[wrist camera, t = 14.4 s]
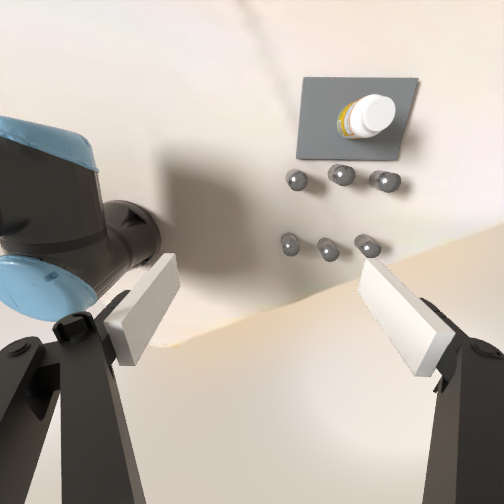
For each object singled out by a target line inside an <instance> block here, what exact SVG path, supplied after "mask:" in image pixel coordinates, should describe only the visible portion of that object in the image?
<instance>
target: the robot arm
mask: <svg viewBox="0 0 504 504" xmlns="http://www.w3.org/2000/svg"><path fill="white" fill-rule="evenodd" d="M98 173H99V170H98V169H97V168H96V164H95V160H94V155H93V151H92V147H91V145H90V143H89V142H88V140H87V139H86V138H84V137H83V136H81V135H80V134H78V133H75V132H71V131H68V130H64V129H59V128H55V127H51V126H46V125H42V124H38V123H33V122H29V121H24V120H19V119H15V118H10V117H5V116H0V244H1V247H2V249H3V252H4V255H3V256H0V301H2V302H3V303H4V304H5V305H7V306H8V307H10V308H12V309H13V310H15V311H18V312H19V313H21V314H23V315H26V316H28V317H31V318H34V319H38V320H43V321H51V322H56V323H55V325H54V326H53V329H52V330H53V332H54V334H55V336H56V338H57V340H58V341H56V342H51V343H46V344H42V342H41V341H40V339H39V338H38V337H33V336H32V337H25V338H22V339H19V340H17V341H14V342H12V343H11V344H9V345H7V346H6V347H4V348H3V349H2V350H1V351H0V504H24V503H25V499H26V497H27V494H28V490H29V487H30V484H31V481H32V478H33V475H34V472H35V469H36V466H37V462H38V459H39V456H40V453H41V450H42V447H43V444H44V440H45V437H46V434H47V431H48V428H49V425H50V422H51V419H52V416H53V413H54V409H55V406H56V403H57V400H58V397H59V394H61V468H62V469H61V471H62V472H61V476H62V504H146V501H145V497H144V493H143V489H142V485H141V481H140V477H139V472H138V468H137V465H136V460H135V456H134V452H133V448H132V444H131V440H130V436H129V432H128V428H127V424H126V420H125V416H124V412H123V408H122V403H121V399H120V395H119V391H118V388H117V384H116V379H115V375H114V371H113V368H112V365H111V364H112V363H113V361H114V360H115V358H116V357H117V360H118V363H119V365H120V366H136V364H137V362H138V360H139V359H140V357H141V355H142V353H143V352H144V350H145V348H146V346H147V345H148V343H149V341H150V339H151V337H152V336H153V334H154V332H155V330H156V329H157V327H158V325H159V323H160V322H161V320H162V318H163V316H164V314H165V313H166V311H167V309H168V307H169V306H170V304H171V302H172V300H173V299H174V297H175V295H176V293H177V291H178V290H179V288H180V281H179V274H178V268H177V261H176V255H175V253H164V254H163V255H162V256H161V257H160V259H159V260H158V261H157V262H156V263H155V264H154V265H153V266H152V268H151V269H150V270H149V271H148V272H147V273H146V274H145V275H144V277H143V278H142V279H141V280H140V281H139V282H138V283H137V284H136V285H135V287H134V288H133V289H132V290H125V291H123V292H122V293H120V294H118V295H117V296H116V297H115V298H114V299H113V300H112V301H111V303H109V304H108V305H107V306H106V308H104V309H103V310H102V312H101V313H100V314H99V315H98V316H97V317H96V318H95V319H93V317H92V315H91V314H90V313H89V312H86V311H85V310H86V309H87V308H89V307H90V306H92V305H94V304H95V303H96V302H97V300H98V299H99V298H100V297H101V296H102V295H104V294H105V293H106V292H107V291H108V290H109V289H110V288H111V287H112V286H113V285H114V284H115V283H116V282H117V281H118V280H119V279H120V278H121V277H122V276H123V275H124V274H125V273H126V272H127V271H130V270H133V269H135V268H138V267H141V266H143V265H145V264H147V263H148V262H149V261H150V260H151V259H152V258H153V257H154V256H155V255H156V254H157V252H158V250H159V247H160V233H159V230H158V227H157V225H156V223H155V222H154V220H153V219H152V217H151V216H150V215H149V214H148V213H147V212H146V211H144V210H143V209H142V208H140V207H139V206H137V205H135V204H133V203H130V202H127V201H121V200H113V201H108V202H105V203H103V202H102V196H101V190H100V184H99V178H98ZM357 292H358V293H359V295H360V296H361V298H362V299H363V301H364V302H365V304H366V305H367V307H368V308H369V310H370V311H371V313H372V314H373V316H374V317H375V319H376V320H377V322H378V323H379V325H380V326H381V327H382V329H383V331H384V332H385V333H386V335H387V336H388V338H389V339H390V341H391V343H392V344H393V345H394V347H395V348H396V350H397V351H398V353H399V354H400V356H401V357H402V359H403V360H404V362H405V363H406V365H407V366H408V368H409V369H410V371H411V372H412V374H413V375H414V376H422V377H431V376H432V374H433V372H434V371H435V369H436V368H437V369H438V371H439V372H440V373H441V374H442V377H441V379H440V380H439V382H438V384H437V385H436V387H435V389H434V390H433V392H435V393H436V392H437V391H438V393H437V401H436V407H435V415H434V422H433V429H432V437H431V444H430V451H429V459H428V466H427V473H426V480H425V487H424V495H423V502H422V504H504V354H503V353H502V352H501V351H500V350H499V349H497V348H496V347H494V346H493V345H491V344H489V343H487V342H485V341H483V340H479V339H476V338H470V337H468V336H467V335H466V334H465V333H464V332H463V331H462V330H461V329H459V327H458V326H456V325H455V324H454V323H453V322H452V321H451V320H450V319H449V318H447V317H446V316H445V315H444V314H443V313H442V312H440V310H439V309H438V308H437V307H436V306H434V305H433V304H432V303H430V302H429V301H427V300H425V299H424V298H418V297H417V296H416V295H415V294H414V293H413V292H412V291H411V290H410V289H409V288H408V287H407V286H406V285H405V284H404V283H403V282H402V281H401V280H400V279H399V278H398V277H396V276H395V275H394V274H393V273H392V272H391V271H390V270H389V269H388V268H387V267H386V266H385V265H384V264H383V263H382V262H381V261H380V260H379V259H378V258H366V260H365V264H364V267H363V271H362V275H361V279H360V282H359V286H358V290H357Z"/></svg>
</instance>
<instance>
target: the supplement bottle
mask: <svg viewBox="0 0 504 504" xmlns="http://www.w3.org/2000/svg"><path fill="white" fill-rule="evenodd" d="M395 111H396V109H395V104H394V102H393V101H392V99H390V98H389V97H385V96H381V95H378V94H372V95H368V96H366V97H363V98H361V99H359V100H357V101H355V102H353V103H351V104H349V105H347V106H346V107H345V108H344V109H343V110H342V111H341V113H340V114H339V117H338V120H337V129H338V132H339V134H340V135H341V136H342V137H344V138H346V139H359V138H369V137H373V136H375V135H377V134H378V133H380V132H381V131H382V130H384V129H385V128H387V127H388V126H389V125H390V124H391V122H392V121H393V119H394V116H395Z"/></svg>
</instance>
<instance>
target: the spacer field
mask: <svg viewBox="0 0 504 504" xmlns="http://www.w3.org/2000/svg"><path fill="white" fill-rule="evenodd" d="M328 177H329V179H330V180H331V181H333V182H335V183H337V184H339V185H341V186H347V185H349V184H351V183H352V182H353V180H354V178H355V171H354V169H353V168H351V167H349V166H344V165H340V164H336V165H333V166H332V167H331V168H330V169H329V171H328ZM286 182H287V183H288V185H289V186H290V187H291V189H292V190H294V191H301V190H303V189H304V188H305V187H306V185H307V177H306V175H305V174H304V173H302V172H301V171H299V170H297V169H293V170H290V171H289V172H288V173H287V175H286ZM369 184H370V186H371V187H373V188H376V189H379V190H381V191H384V192H387V193H390V192H394V191H395V190H397V189H398V188H399V186H400V184H401V177H400V176H399V175H398V174H395V173H390V172H385V171H380V170H379V171H375V172H374V173H372V174H371V176H370V177H369ZM281 242H282V246H283V251H284V253H285V254H286V255H287V256H295V255H297V254H298V252H299V250H300V248H299V245H298V242H297V240H296V237H295V235H294V234H292V233H286V234H284V235H283V236H282V238H281ZM354 244H355V246H356V247H357V248H358V249H359V250H360V251H361V252H362V253H363V254H364V255H365V256H366V257H367V258H375V257H377V256H378V255H379V254H380V252H381V247H380V246H379V245H378V244H377V243H376V242H374V241H373V240H372V239H371V238H370V237H368V236H367V235H359V236H358V237H357V238H356V239H355V241H354ZM317 248H318V249H319V251H320V253H321V255H322V256H323V258H324V260H326V261H328V262H332V261H335V260H336V259H337V258H338V256H339V251H338V250H337V248H336V247H335V246H334V244H333V243H332V242H331V240H330V239H328V238H322V239H320V240H319V241H318V243H317Z"/></svg>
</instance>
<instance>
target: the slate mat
mask: <svg viewBox="0 0 504 504" xmlns="http://www.w3.org/2000/svg"><path fill="white" fill-rule="evenodd" d="M417 82H418V78H343V77H304V78H303V85H302V96H301V107H300V118H299V129H298V140H297V151H296V159H354V160H396V159H397V155H398V151H399V148H400V144H401V140H402V137H403V133H404V129H405V126H406V122H407V119H408V115H409V111H410V108H411V104H412V100H413V97H414V93H415V89H416V86H417ZM372 94H378V95H381V96H385V97H389V98H390V99H392V101H393V102H394V104H395V109H396V111H395V116H394V119H393V121H392V122H391V124H390V125H389V126H388V127H387V128H385V129H384V130H382V131H381V132H380V133H378V134H377V135H375V136H373V137H369V138H359V139H346V138H344V137H342V136H341V135H340V134H339V132H338V129H337V120H338V117H339V114H340V113H341V111H342V110H343V109H344V108H345V107H346V106H347V105H349V104H351V103H353V102H355V101H357V100H359V99H361V98H363V97H366V96H368V95H372Z"/></svg>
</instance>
